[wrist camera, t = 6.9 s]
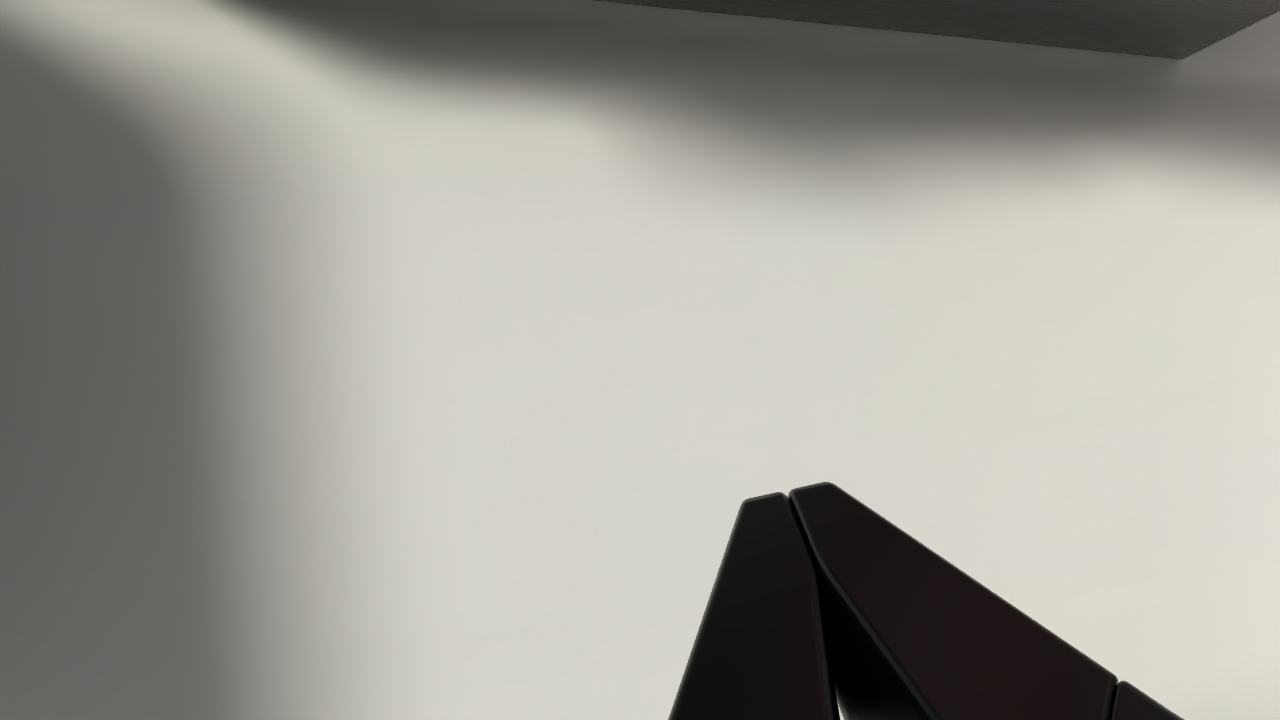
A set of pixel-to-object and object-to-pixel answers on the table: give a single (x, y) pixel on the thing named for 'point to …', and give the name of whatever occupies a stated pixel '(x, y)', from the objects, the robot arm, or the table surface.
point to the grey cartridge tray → (1023, 19)
